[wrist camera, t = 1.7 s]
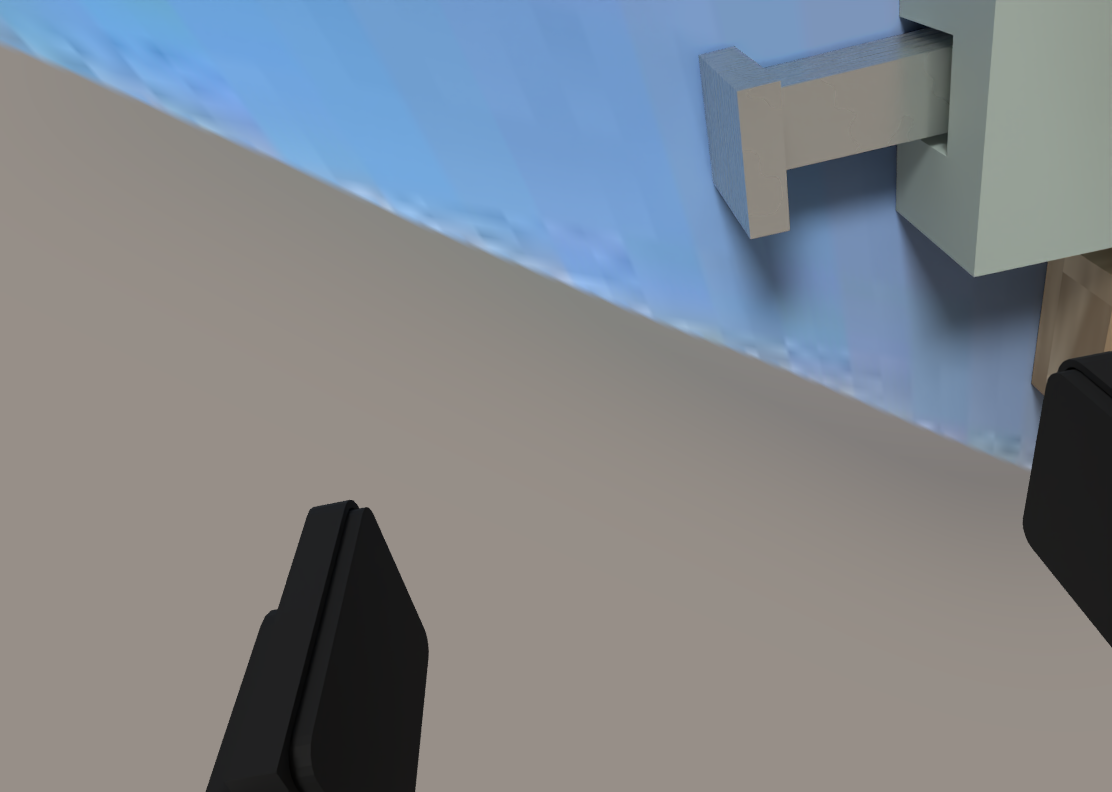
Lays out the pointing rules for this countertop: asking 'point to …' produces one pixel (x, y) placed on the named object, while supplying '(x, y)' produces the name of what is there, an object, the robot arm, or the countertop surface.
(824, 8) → the countertop surface
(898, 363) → the countertop surface
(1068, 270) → the rack
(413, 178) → the countertop surface
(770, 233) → the t-shaped push slider
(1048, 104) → the socket block
